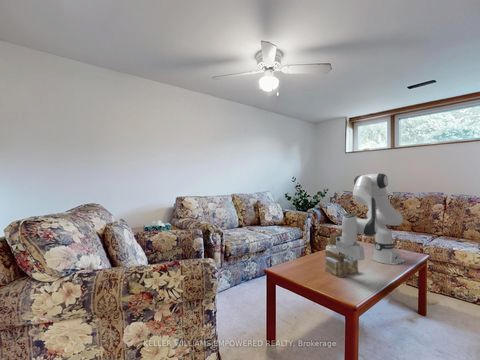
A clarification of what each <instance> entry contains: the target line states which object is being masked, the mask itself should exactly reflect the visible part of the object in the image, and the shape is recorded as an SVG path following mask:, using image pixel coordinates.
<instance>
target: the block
mask: <svg viewBox="0 0 480 360" xmlns="http://www.w3.org/2000/svg"><path fill="white" fill-rule="evenodd" d="M341 236H342V232H336V231H335V232H332V233H330V234H329V242H328V243H329V244H328V245H335V246H336V237H341ZM338 255H340V252H339V254H338Z"/></svg>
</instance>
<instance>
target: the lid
mask: <svg viewBox="0 0 480 360" xmlns="http://www.w3.org/2000/svg"><path fill="white" fill-rule="evenodd" d="M340 255H341V256H343V257H344V262H347V259H346V257H345V254H343V253H340ZM325 259H327V260H329V261H331V262H333V263H335V264H338V262H340V261H337V260H335V259H333V258H331V257H326V256H325ZM349 259H350V258H349ZM353 261H358V262H359V260H357V259H355V258H354V259H353Z"/></svg>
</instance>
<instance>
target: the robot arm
mask: <svg viewBox="0 0 480 360" xmlns="http://www.w3.org/2000/svg"><path fill="white" fill-rule="evenodd" d="M353 184H354V186H353V191H352V198H353V199H354V200H355V202H357V203H359V204H360V205H363V206H365V207H367V208H368V211H367V212H366V218H358V217H357V215H356V214H354V213H345V214H343V216H342V219H341V220H342V221H341V229H342V230H341V233H342V236H341V237H336V250H337V251H338V252H340V253H343V254H345V257H346V259H347V262H348V263H350V264H352V261H353V259H354V258H355V259H357V260H358V261H364V260H365V250H364V249H365V248H364V246H363V245H362V244H361V243H358V234H359V235H364V236H367V237H373V236H374V239H375V240H374V248H373V255H372V260H373V261H375V262H376V263H381V264H385V265H387V264H388V265H393V266H396V265H399V264H402V263H405V262H406V260H405V259H404V258H402V255H401V253H400V252H399V250H397V249H396V248H395V247H397V243H394V242H393V233H392V231H391V230H390V229H388V227H387V226H390V227H392V226H393V227H396V226H398V227H399V226H400V225H402V224H403V221H404V218H403V215H402V214H401V213H400V212H399V211H398V210H396V209H395V208H394V206H392V205H393V204H391V202H390V199H389V196H388V192H387V187H388V185H389V179H388V176H387V175H386V174H385V173H368V174H362V175H357V176H355V178H354V180H353ZM349 258H350V259H349ZM404 261H405V262H404ZM401 262H402V263H401ZM398 263H399V264H398Z"/></svg>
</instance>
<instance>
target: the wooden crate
mask: <svg viewBox="0 0 480 360" xmlns="http://www.w3.org/2000/svg"><path fill="white" fill-rule="evenodd" d="M326 257H329V256H328V255H325V261H324V263H325V267H324V269H325V272H327V273H329V274H331V275H332V276H333V277H338V278H342V277H345V276H346V275H352V274H358V273H359V272H358V271H359V269H358V267H359V260H358V261H352V264H350V263H348V262H338V264H335V263H333V262H331V261H329V260H327V259H326Z"/></svg>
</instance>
